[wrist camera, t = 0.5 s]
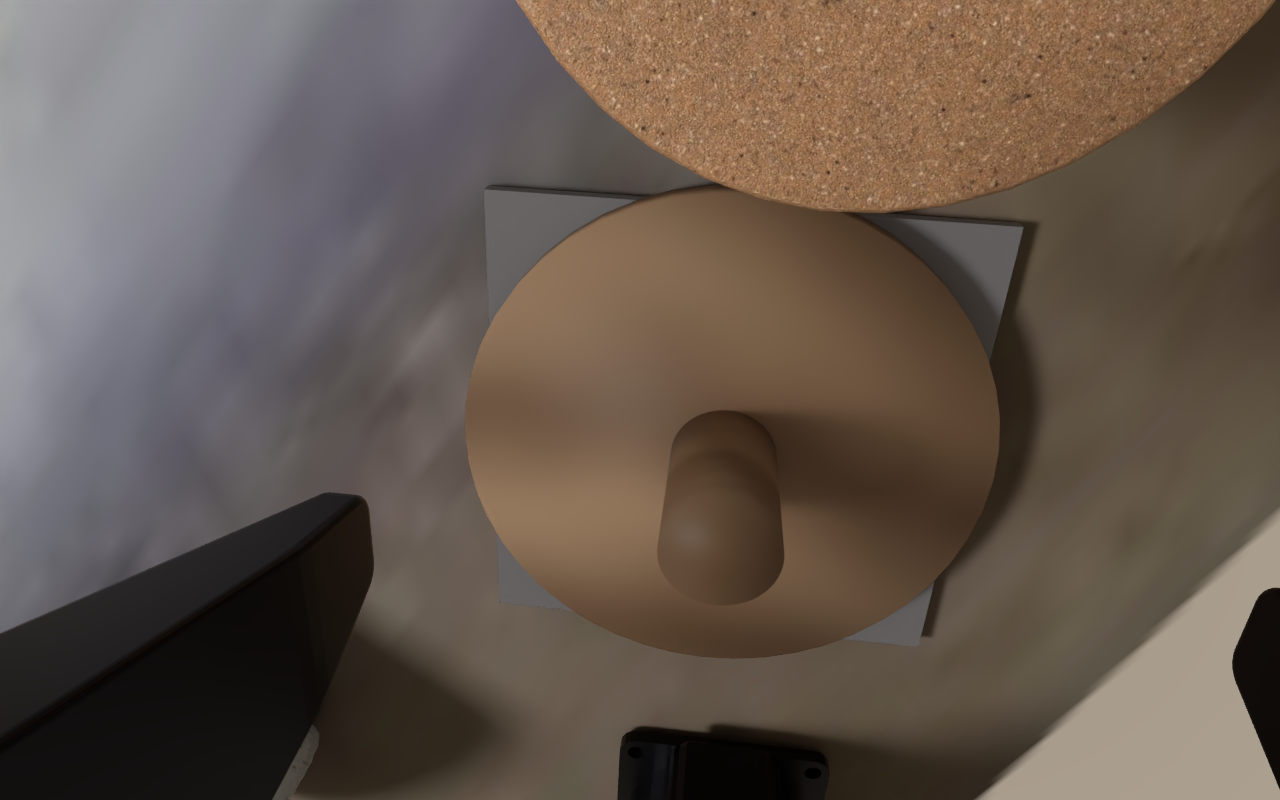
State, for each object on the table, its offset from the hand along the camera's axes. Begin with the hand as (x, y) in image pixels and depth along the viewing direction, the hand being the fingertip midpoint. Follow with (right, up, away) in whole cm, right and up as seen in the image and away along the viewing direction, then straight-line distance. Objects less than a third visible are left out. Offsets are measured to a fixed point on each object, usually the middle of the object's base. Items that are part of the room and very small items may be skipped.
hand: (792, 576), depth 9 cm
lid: (+1, +1, +13) cm, 13 cm away
